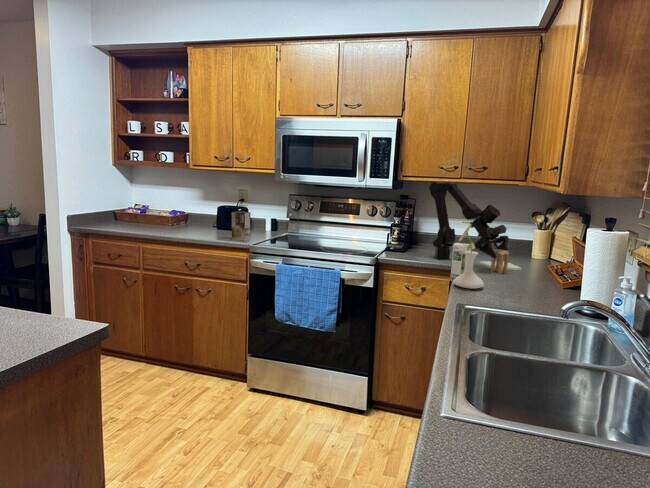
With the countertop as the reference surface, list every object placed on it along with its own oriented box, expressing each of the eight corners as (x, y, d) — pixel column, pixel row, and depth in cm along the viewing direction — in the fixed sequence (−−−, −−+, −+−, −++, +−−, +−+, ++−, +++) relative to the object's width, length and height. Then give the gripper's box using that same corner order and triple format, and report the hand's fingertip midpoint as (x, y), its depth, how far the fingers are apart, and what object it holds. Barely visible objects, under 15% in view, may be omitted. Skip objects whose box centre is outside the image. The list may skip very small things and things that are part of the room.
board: (493, 269, 212) (493, 267, 212) (479, 263, 226) (479, 261, 226) (521, 270, 214) (521, 268, 214) (505, 263, 228) (506, 261, 228)
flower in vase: (461, 281, 187) (467, 220, 183) (488, 287, 179) (495, 224, 175) (445, 287, 178) (451, 222, 173) (472, 293, 170) (479, 226, 166)
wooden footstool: (490, 271, 208) (492, 250, 206) (497, 270, 211) (499, 249, 209) (500, 274, 204) (502, 252, 202) (506, 273, 207) (509, 251, 205)
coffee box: (250, 239, 267) (251, 212, 265) (244, 241, 262) (245, 213, 259) (237, 238, 271) (237, 211, 268) (231, 239, 265) (231, 211, 262)
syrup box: (449, 277, 194) (452, 243, 192) (457, 275, 199) (460, 242, 196) (462, 279, 190) (465, 245, 188) (469, 277, 195) (472, 244, 192)
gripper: (482, 219, 202) (502, 248, 195) (507, 218, 212) (527, 245, 205) (466, 234, 209) (484, 263, 202) (491, 232, 220) (509, 259, 213)
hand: (502, 257), depth 205 cm, fingers open, 9 cm apart
